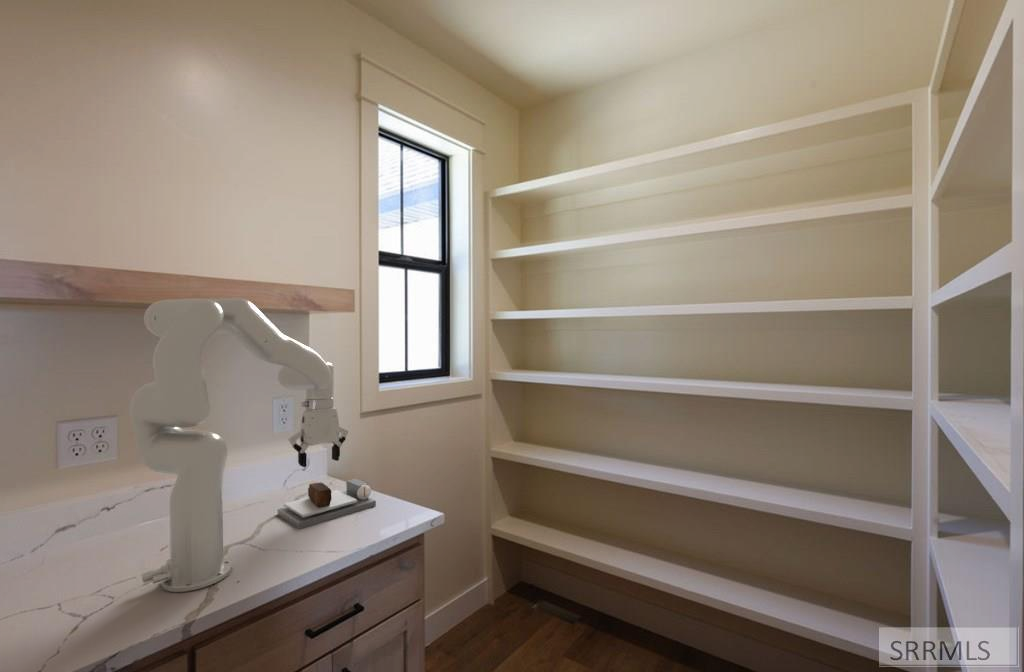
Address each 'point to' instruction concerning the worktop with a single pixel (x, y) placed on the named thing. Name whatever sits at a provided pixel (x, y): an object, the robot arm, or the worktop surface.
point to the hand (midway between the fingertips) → (319, 462)
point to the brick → (319, 494)
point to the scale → (341, 504)
